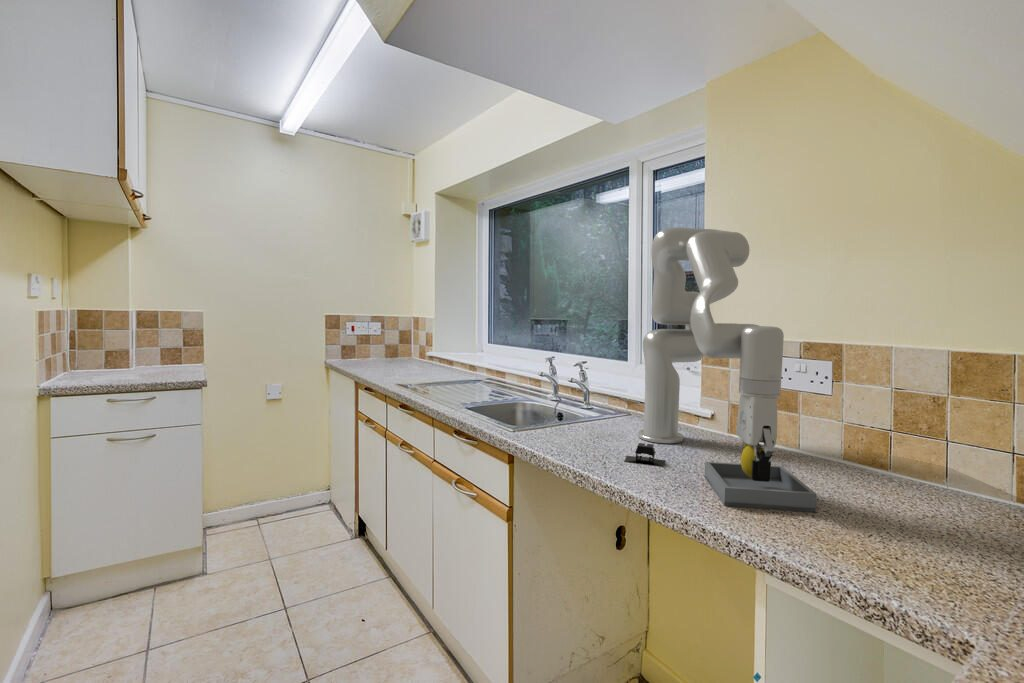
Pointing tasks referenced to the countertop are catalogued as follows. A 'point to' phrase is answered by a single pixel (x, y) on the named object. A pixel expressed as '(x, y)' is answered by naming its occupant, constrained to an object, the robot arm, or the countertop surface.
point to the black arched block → (645, 460)
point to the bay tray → (759, 488)
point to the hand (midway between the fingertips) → (755, 474)
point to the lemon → (748, 459)
